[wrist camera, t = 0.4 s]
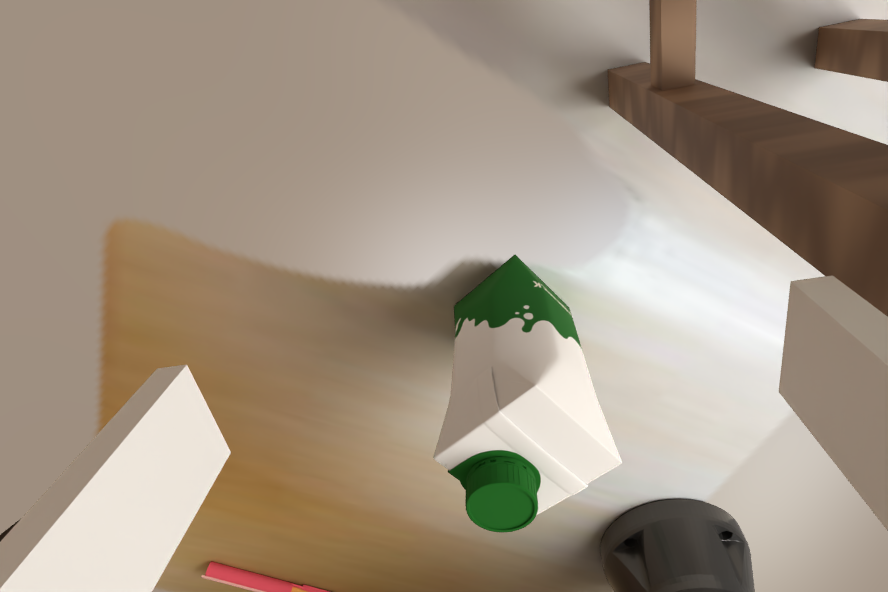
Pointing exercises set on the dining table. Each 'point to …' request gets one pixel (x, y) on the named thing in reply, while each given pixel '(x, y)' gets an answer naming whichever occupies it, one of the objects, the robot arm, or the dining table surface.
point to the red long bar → (252, 580)
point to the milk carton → (520, 403)
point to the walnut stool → (772, 146)
